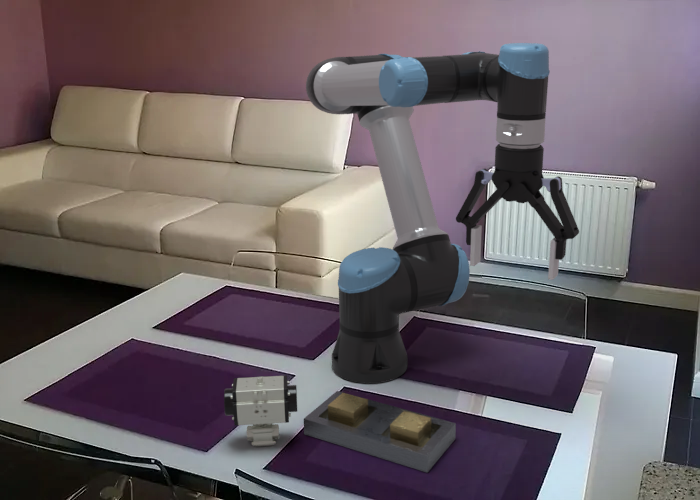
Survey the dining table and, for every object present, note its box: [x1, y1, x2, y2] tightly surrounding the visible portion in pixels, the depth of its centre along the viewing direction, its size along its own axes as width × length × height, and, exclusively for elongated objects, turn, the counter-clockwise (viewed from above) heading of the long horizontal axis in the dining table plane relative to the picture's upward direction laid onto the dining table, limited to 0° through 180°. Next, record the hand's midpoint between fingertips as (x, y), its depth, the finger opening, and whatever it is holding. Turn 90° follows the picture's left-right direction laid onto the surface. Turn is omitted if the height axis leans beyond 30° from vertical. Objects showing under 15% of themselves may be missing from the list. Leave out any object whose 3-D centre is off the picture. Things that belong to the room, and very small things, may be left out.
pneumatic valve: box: [223, 375, 298, 448], centre depth 130 cm, size 6×12×12 cm, turn 95°
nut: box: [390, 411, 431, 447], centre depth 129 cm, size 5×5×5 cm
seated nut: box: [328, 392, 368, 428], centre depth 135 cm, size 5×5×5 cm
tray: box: [303, 390, 457, 474], centre depth 132 cm, size 23×11×3 cm, turn 60°
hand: (513, 270), depth 131 cm, fingers open, 13 cm apart
